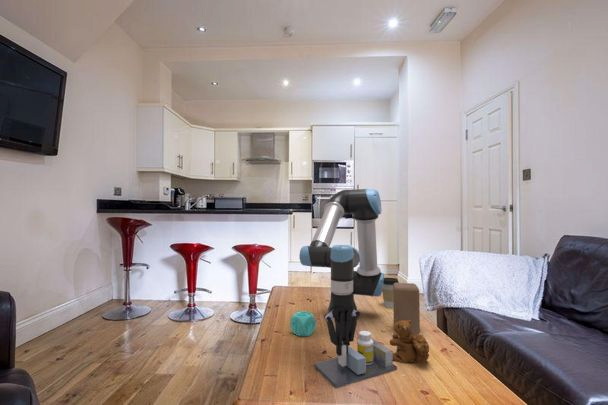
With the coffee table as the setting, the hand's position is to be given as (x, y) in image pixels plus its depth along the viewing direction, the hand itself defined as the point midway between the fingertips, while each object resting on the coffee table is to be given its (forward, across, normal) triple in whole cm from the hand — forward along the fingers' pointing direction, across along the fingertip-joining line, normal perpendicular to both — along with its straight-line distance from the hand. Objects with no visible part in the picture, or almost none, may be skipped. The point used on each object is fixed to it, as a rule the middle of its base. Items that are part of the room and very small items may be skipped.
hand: (342, 364), depth 99 cm
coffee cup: (+3, +61, +45) cm, 76 cm away
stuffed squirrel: (+3, +27, -4) cm, 27 cm away
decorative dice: (+3, +2, +34) cm, 34 cm away
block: (+3, +44, +16) cm, 47 cm away
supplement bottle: (+2, +10, 0) cm, 10 cm away
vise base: (+2, +5, 0) cm, 6 cm away
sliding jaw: (+1, +4, 0) cm, 4 cm away
